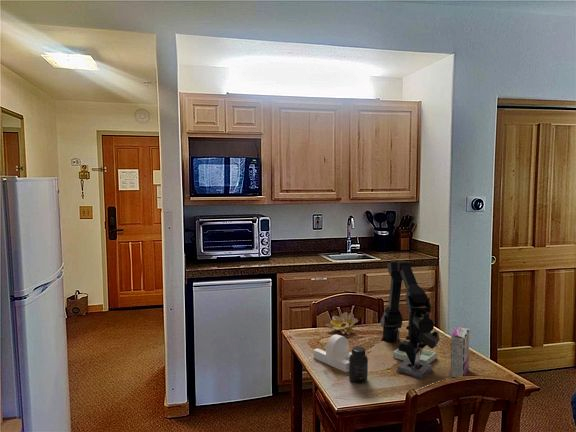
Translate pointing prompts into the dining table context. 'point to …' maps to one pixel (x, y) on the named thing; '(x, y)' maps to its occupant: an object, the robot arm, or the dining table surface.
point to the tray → (425, 356)
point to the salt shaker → (417, 359)
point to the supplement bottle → (358, 365)
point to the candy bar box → (459, 352)
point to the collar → (417, 373)
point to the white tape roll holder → (335, 353)
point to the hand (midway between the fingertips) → (415, 363)
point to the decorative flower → (343, 322)
